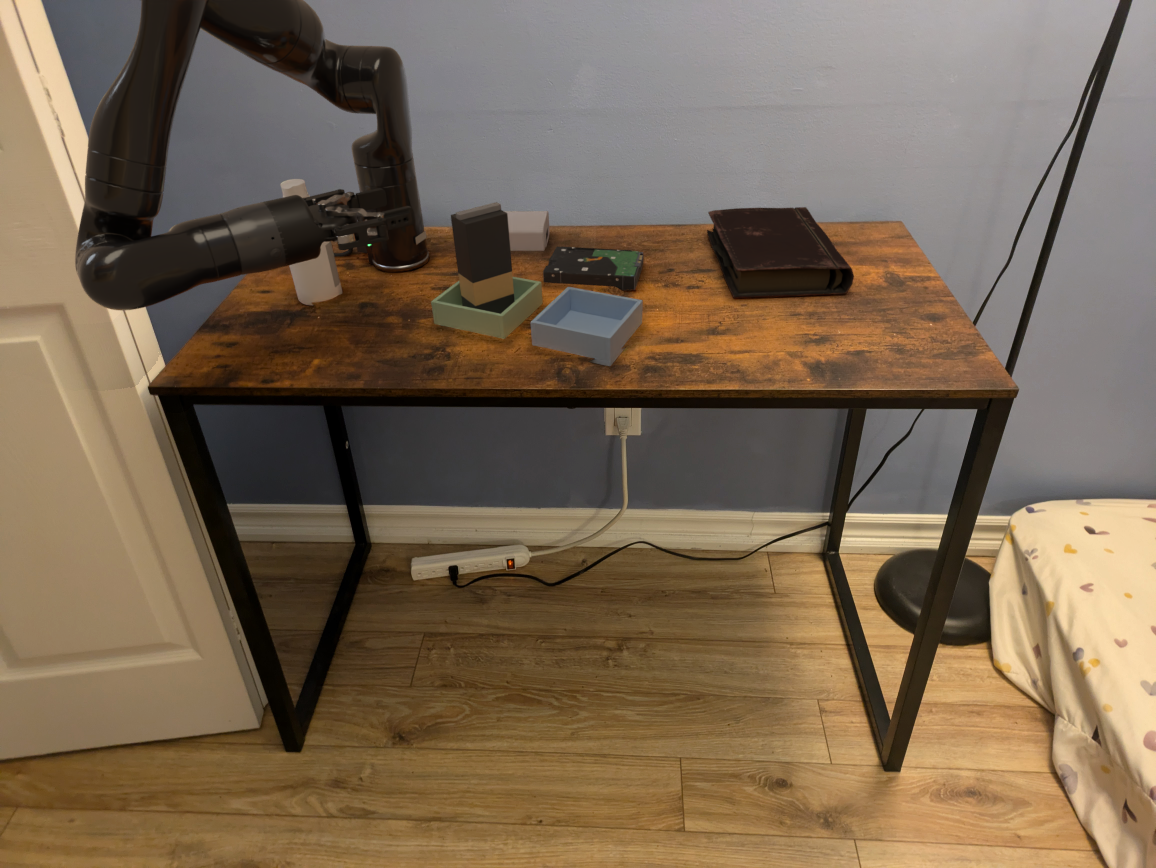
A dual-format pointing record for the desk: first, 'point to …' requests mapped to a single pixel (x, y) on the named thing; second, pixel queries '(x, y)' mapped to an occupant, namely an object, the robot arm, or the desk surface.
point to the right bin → (587, 324)
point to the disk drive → (594, 267)
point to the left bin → (486, 322)
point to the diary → (776, 253)
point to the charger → (528, 230)
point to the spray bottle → (313, 262)
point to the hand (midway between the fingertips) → (398, 205)
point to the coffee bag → (484, 257)
